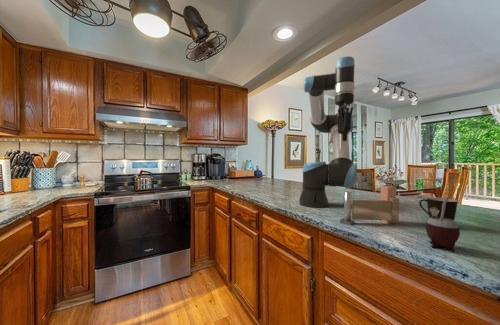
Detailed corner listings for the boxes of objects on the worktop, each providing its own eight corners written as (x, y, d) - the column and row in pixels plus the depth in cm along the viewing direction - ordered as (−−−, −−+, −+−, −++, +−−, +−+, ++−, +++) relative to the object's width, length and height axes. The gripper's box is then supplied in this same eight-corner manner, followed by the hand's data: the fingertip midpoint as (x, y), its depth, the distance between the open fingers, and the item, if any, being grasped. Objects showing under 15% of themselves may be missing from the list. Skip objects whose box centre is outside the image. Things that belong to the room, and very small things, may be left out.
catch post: (387, 222, 81) (387, 187, 81) (380, 220, 85) (380, 185, 85) (395, 222, 82) (395, 187, 82) (387, 219, 85) (388, 185, 85)
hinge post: (344, 220, 84) (344, 190, 84) (354, 222, 81) (355, 192, 81) (339, 222, 81) (340, 191, 81) (350, 224, 78) (351, 193, 78)
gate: (351, 219, 82) (351, 196, 82) (394, 220, 81) (395, 197, 81) (354, 221, 80) (354, 197, 79) (398, 222, 79) (399, 198, 79)
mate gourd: (439, 241, 63) (440, 192, 62) (470, 253, 55) (472, 197, 55) (417, 243, 62) (418, 192, 61) (446, 255, 54) (447, 197, 54)
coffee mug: (463, 230, 73) (464, 202, 73) (435, 228, 75) (436, 201, 75) (440, 220, 85) (441, 196, 85) (416, 219, 86) (417, 195, 86)
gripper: (360, 89, 84) (358, 148, 84) (347, 98, 97) (346, 149, 97) (341, 89, 84) (339, 147, 85) (330, 99, 97) (329, 149, 98)
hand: (343, 148), depth 91 cm, fingers closed
